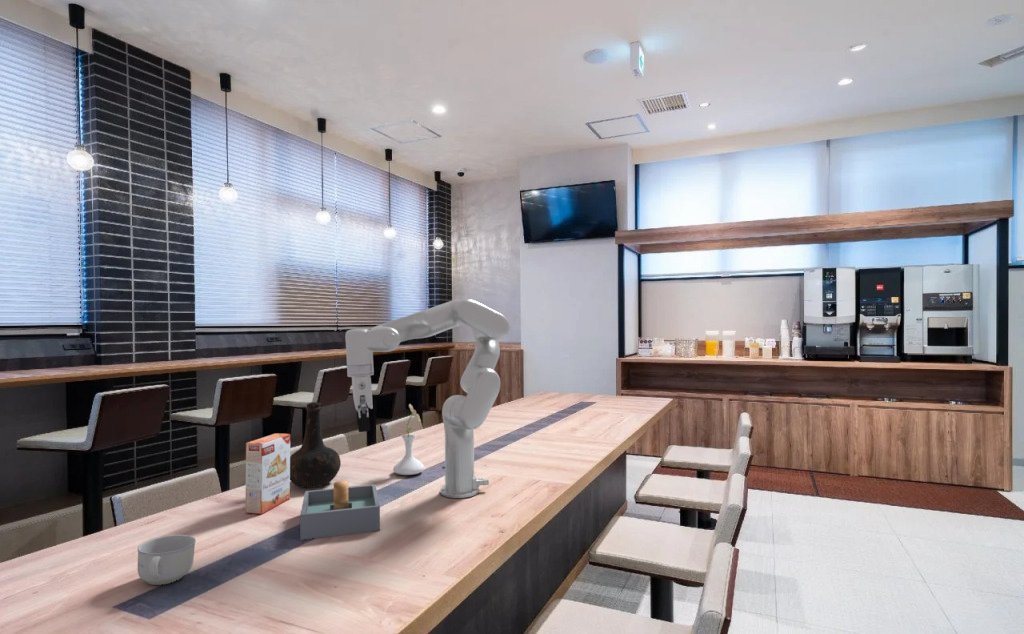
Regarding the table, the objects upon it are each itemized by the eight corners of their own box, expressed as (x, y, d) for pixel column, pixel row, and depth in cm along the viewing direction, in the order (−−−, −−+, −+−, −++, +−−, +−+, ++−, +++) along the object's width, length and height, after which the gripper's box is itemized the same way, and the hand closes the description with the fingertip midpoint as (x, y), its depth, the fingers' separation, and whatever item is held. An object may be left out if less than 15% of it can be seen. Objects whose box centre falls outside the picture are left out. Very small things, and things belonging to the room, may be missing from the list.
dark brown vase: (296, 496, 174) (296, 409, 174) (278, 483, 187) (277, 402, 187) (349, 484, 186) (349, 403, 185) (328, 473, 199) (328, 397, 199)
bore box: (375, 505, 164) (375, 484, 164) (380, 530, 145) (379, 506, 145) (305, 513, 158) (305, 491, 158) (300, 540, 139) (300, 515, 139)
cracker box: (262, 515, 157) (262, 443, 157) (244, 513, 158) (244, 442, 158) (291, 499, 171) (291, 433, 171) (274, 498, 172) (274, 432, 172)
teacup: (155, 568, 124) (155, 533, 124) (204, 566, 125) (204, 531, 125) (116, 599, 110) (116, 560, 110) (172, 597, 111) (171, 558, 111)
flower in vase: (421, 477, 193) (420, 407, 192) (389, 477, 193) (389, 407, 193) (427, 467, 206) (427, 402, 206) (398, 467, 206) (397, 402, 206)
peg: (348, 514, 157) (348, 480, 157) (348, 519, 153) (348, 484, 153) (333, 516, 156) (333, 481, 156) (333, 521, 152) (333, 485, 152)
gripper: (375, 372, 153) (378, 432, 153) (371, 366, 169) (374, 420, 170) (348, 374, 150) (351, 435, 151) (346, 368, 167) (349, 423, 167)
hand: (363, 427), depth 160 cm, fingers open, 9 cm apart
